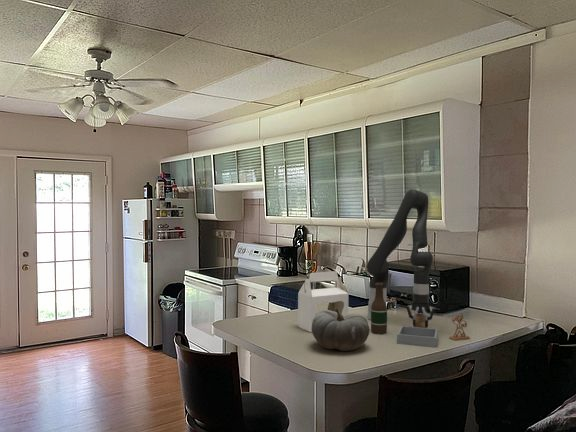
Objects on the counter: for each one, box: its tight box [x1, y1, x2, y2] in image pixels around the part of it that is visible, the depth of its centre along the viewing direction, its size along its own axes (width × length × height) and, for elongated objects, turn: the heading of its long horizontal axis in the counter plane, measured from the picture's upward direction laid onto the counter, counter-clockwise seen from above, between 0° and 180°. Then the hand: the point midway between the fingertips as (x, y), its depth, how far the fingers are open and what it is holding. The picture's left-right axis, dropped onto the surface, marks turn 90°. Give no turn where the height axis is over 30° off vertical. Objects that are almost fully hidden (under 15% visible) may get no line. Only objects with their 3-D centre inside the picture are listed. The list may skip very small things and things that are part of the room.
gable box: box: [297, 270, 349, 334], centre depth 248 cm, size 22×13×28 cm, turn 118°
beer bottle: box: [370, 283, 388, 335], centre depth 239 cm, size 8×8×24 cm
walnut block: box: [415, 313, 425, 328], centre depth 241 cm, size 4×4×7 cm
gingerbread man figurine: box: [448, 312, 471, 341], centre depth 229 cm, size 9×4×12 cm, turn 112°
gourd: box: [311, 308, 371, 352], centre depth 215 cm, size 25×25×17 cm
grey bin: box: [396, 325, 439, 348], centre depth 225 cm, size 17×17×4 cm
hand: (420, 327), depth 241 cm, fingers closed on walnut block, 4 cm apart
